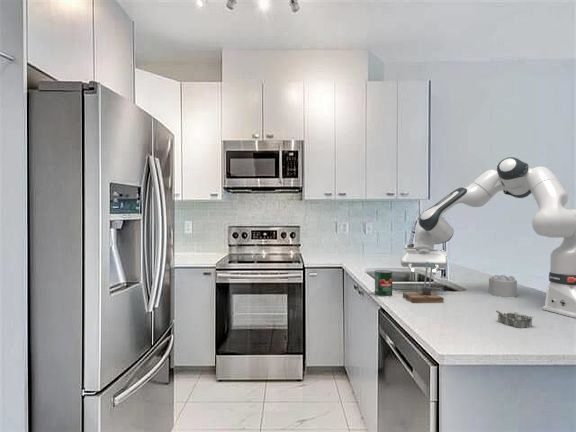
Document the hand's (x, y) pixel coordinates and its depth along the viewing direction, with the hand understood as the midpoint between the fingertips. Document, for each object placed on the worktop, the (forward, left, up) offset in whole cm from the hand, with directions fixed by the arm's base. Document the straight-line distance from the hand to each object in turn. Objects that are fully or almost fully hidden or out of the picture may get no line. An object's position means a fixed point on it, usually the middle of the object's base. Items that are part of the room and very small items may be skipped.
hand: (423, 273), depth 199 cm
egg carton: (-49, -13, -11) cm, 52 cm away
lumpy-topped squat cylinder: (+2, -38, -11) cm, 40 cm away
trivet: (-8, +3, -10) cm, 13 cm away
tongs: (-7, +1, -8) cm, 11 cm away
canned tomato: (+4, +17, -11) cm, 20 cm away
